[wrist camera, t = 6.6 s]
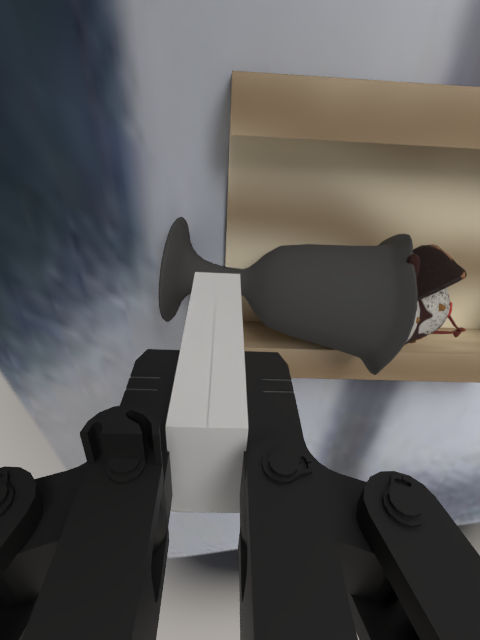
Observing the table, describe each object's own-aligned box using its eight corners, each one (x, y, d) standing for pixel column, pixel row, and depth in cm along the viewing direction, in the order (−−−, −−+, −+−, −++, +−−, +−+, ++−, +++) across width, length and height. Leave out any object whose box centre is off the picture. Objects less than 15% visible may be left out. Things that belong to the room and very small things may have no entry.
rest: (231, 73, 15) (232, 68, 12) (616, 99, 16) (732, 101, 12) (222, 343, 23) (221, 393, 19) (485, 351, 24) (533, 401, 20)
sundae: (181, 317, 21) (434, 360, 21) (145, 359, 15) (509, 421, 15) (194, 201, 20) (471, 245, 19) (160, 192, 13) (575, 258, 13)
